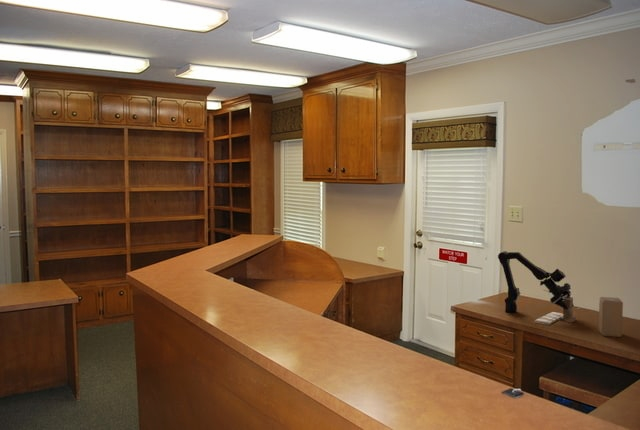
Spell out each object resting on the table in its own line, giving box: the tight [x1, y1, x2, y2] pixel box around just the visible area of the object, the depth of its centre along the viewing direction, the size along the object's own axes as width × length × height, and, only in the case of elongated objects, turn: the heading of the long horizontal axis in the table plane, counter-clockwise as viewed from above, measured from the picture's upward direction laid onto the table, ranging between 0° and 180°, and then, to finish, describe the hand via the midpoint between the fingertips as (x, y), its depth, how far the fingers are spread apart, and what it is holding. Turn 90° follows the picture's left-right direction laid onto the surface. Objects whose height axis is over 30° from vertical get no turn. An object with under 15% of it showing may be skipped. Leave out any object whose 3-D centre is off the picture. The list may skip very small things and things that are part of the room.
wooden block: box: [598, 296, 624, 338], centre depth 288 cm, size 10×10×20 cm
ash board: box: [534, 311, 563, 326], centre depth 319 cm, size 26×8×1 cm, turn 134°
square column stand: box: [559, 296, 577, 324], centre depth 316 cm, size 7×7×14 cm
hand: (570, 307), depth 315 cm, fingers open, 9 cm apart
